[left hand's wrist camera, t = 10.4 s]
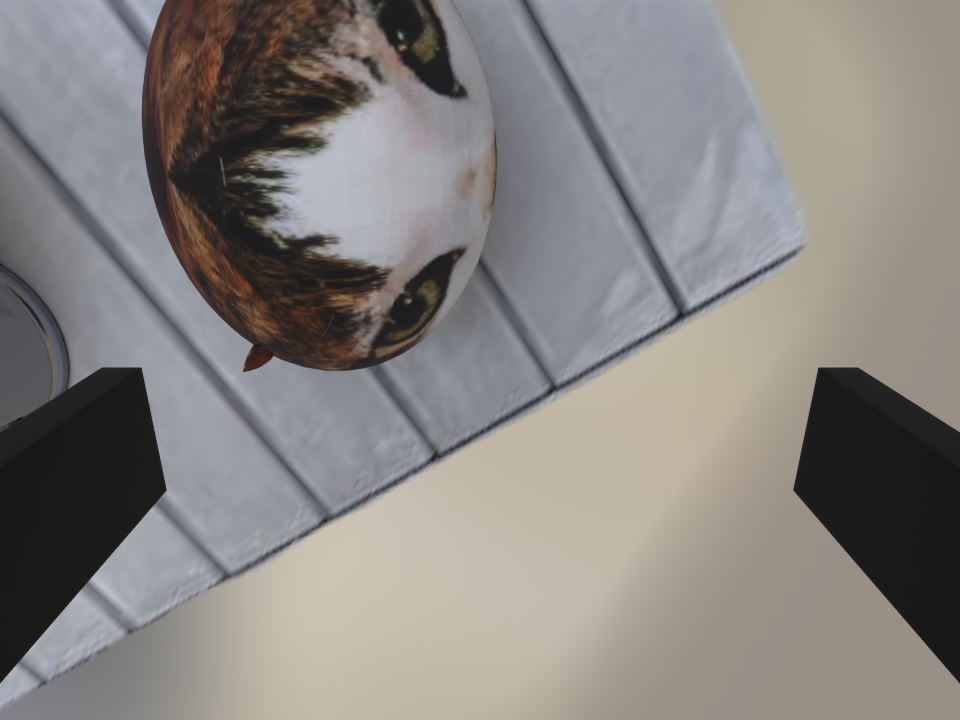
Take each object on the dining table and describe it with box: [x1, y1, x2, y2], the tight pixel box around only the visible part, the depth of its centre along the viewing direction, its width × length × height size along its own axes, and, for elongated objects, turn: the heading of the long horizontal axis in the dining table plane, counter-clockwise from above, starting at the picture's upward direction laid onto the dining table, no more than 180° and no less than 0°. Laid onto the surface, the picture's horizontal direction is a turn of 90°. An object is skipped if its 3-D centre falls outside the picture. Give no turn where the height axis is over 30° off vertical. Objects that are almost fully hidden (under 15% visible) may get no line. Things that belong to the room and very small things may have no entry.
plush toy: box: [142, 0, 497, 372], centre depth 34 cm, size 22×18×20 cm
